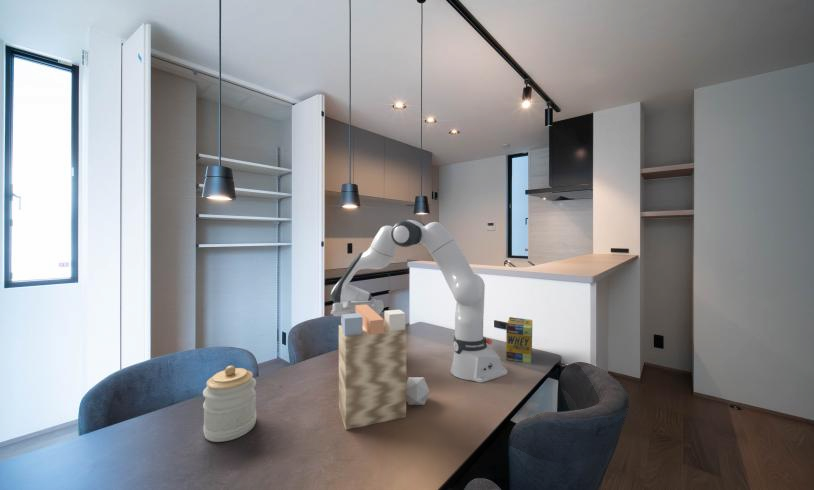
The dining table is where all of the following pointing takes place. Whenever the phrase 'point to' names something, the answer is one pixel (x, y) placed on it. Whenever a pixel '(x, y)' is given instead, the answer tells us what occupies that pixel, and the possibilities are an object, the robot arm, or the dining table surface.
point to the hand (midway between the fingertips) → (361, 301)
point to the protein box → (519, 340)
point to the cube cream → (394, 320)
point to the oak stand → (372, 377)
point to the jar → (229, 404)
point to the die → (416, 391)
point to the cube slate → (352, 324)
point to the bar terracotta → (370, 319)
